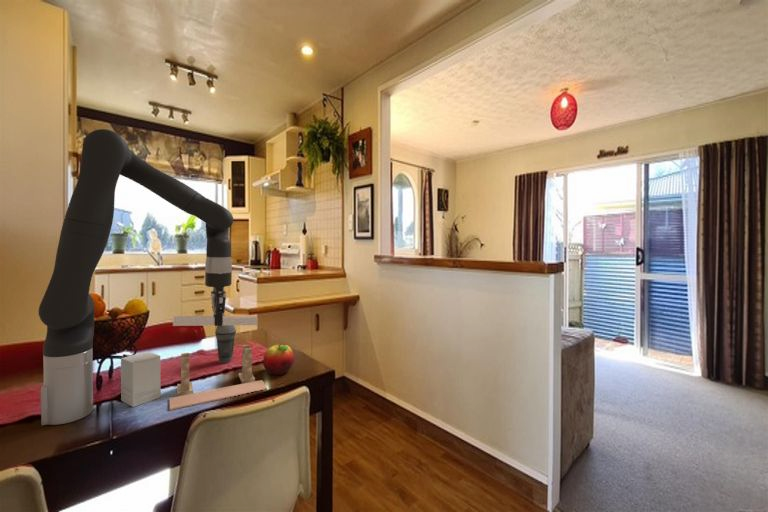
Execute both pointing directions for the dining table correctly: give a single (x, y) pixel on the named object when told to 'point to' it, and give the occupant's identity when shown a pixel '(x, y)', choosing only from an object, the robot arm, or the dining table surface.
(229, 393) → the terracotta board
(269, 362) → the fruit
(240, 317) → the pale grey long bar
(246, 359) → the right stand
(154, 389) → the supplement box
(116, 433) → the dining table surface
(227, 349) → the beverage cup
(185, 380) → the left stand
